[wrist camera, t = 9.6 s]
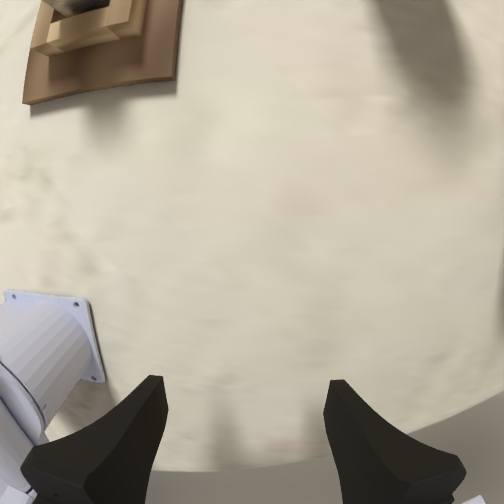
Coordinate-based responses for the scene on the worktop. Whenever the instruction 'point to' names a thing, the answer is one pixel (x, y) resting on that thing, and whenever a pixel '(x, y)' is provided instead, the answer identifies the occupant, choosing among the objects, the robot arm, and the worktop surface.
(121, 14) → the slot block
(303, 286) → the worktop surface
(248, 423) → the worktop surface
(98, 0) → the brushed grey block
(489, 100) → the worktop surface
